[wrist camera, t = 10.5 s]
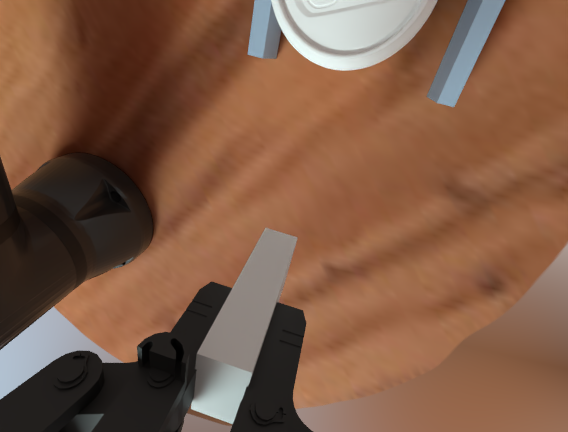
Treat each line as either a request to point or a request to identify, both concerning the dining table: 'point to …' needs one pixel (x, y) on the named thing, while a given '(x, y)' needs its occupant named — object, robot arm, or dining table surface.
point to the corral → (456, 60)
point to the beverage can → (350, 29)
